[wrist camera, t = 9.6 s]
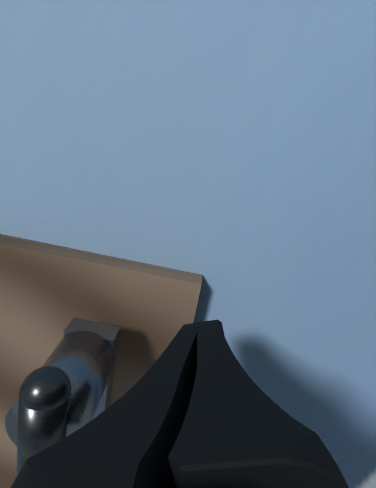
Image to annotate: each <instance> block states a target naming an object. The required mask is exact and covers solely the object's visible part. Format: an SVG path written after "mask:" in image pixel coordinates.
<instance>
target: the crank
mask: <svg viewBox="0 0 376 488" xmlns="http://www.w3.org/2000/svg"><path fill="white" fill-rule="evenodd" d="M119 334H120V327H118V326H113V325H109V324H104V323H99V322H94V321H89V320H84V319H80V318H75V317H74V318H73V319H72V320H71V322H70V323H69V324H68V326H67V327H66V328H65V330H64V335H63V339H62V340H61V341H60V342H59V344H58V345H57V346H56V348H55V349H54V351H53V352H52V353H51V355H50V356H49V357H48V359H47V360H46V361H45V363H44V364H43V365H42V367H40V368H37V369H35V370H34V371H32V372H31V373H30V374H29V375H28V376H27V377H26V378H25V379H24V381H23V382H22V385H21V387H20V390H19V397H18V399H17V400H16V402H15V403H14V404H13V406H12V407H11V408H10V410H9V411H8V413H7V415H6V418H5V427H6V431H7V434H8V436H9V438H10V439H11V441H12V442H13V443H14V444H15V445H16V446H17V475H18V474H19V472H20V470H21V469H22V467H23V465H24V464H25V462H26V460H27V459H28V458H30V457H31V456H33V455H35V454H37V453H39V452H41V451H42V450H44V449H46V448H48V447H50V446H51V445H53V444H55V443H57V442H59V441H60V440H62V439H64V438H65V437H67V436H69V435H70V434H72V433H73V432H75V431H76V430H78V429H80V428H81V427H83V426H84V425H86V424H87V423H88V422H90V421H91V420H93V419H94V418H96V417H97V416H98V415H100V414H101V413H102V412H103V411H105V410H106V409H107V408H108V407H110V400H111V393H112V385H113V378H114V371H115V364H116V356H117V349H118V341H119Z"/></svg>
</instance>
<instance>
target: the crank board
mask: <svg viewBox="0 0 376 488" xmlns="http://www.w3.org/2000/svg"><path fill="white" fill-rule="evenodd" d="M202 276H203V275H199V274H194V273H189V272H184V271H179V270H174V269H169V268H164V267H160V266H155V265H150V264H145V263H140V262H135V261H130V260H125V259H120V258H115V257H110V256H105V255H100V254H95V253H90V252H85V251H81V250H76V249H71V248H66V247H61V246H56V245H51V244H46V243H41V242H36V241H31V240H26V239H21V238H16V237H11V236H6V235H2V234H0V488H11V486H12V484H13V482H14V481H15V479H16V477H17V446H16V445H15V444H14V443H13V442H12V441H11V439H10V438H9V436H8V434H7V431H6V427H5V418H6V415H7V413H8V411H9V410H10V408H11V407H12V406H13V404H14V403H15V402H16V400H17V399H18V397H19V390H20V387H21V385H22V382H23V381H24V379H25V378H26V377H27V376H28V375H29V374H30V373H31V372H32V371H34V370H35V369H37V368H40V367H42V365H43V364H44V363H45V361H46V360H47V359H48V357H49V356H50V355H51V353H52V352H53V351H54V349H55V348H56V346H57V345H58V344H59V342H60V341H61V340H62V339H63V335H64V330H65V328H66V327H67V326H68V324H69V323H70V322H71V320H72V319H73V318H74V317H75V318H80V319H84V320H89V321H94V322H99V323H104V324H109V325H113V326H118V327H120V334H119V341H118V349H117V356H116V364H115V371H114V378H113V385H112V393H111V400H110V406H111V405H112V404H113V403H115V402H116V401H117V400H118V399H120V398H121V397H122V396H123V395H124V394H125V393H126V392H127V391H128V390H130V389H131V388H132V387H133V386H134V385H135V384H136V383H137V382H138V381H139V380H140V379H141V378H142V377H143V376H144V375H145V373H146V372H147V371H148V370H149V369H150V368H151V366H152V365H153V364H154V363H155V362H156V361H157V359H158V358H159V357H160V356H161V354H162V353H163V352H164V350H165V349H166V348H167V347H168V345H169V344H170V342H171V341H172V340H173V338H174V337H175V336H176V334H177V333H178V331H179V330H180V329H181V327H182V326H183V325H184V324H191V323H193V322H194V317H195V313H196V308H197V304H198V299H199V294H200V290H201V285H202Z"/></svg>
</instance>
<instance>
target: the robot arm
mask: <svg viewBox="0 0 376 488" xmlns="http://www.w3.org/2000/svg"><path fill="white" fill-rule="evenodd" d="M11 488H349V487H348V485H347V483H346V481H345V479H344V477H343V475H342V473H341V471H340V469H339V468H338V466H337V464H336V462H335V461H334V459H333V458H332V456H331V454H330V453H329V451H328V450H327V448H326V447H325V445H324V444H323V442H322V441H321V439H320V438H319V436H318V435H317V434H316V433H315V432H313V431H312V430H310V429H309V428H307V427H306V426H304V425H302V424H301V423H299V422H298V421H296V420H295V419H294V418H292V417H291V416H290V415H289V414H287V413H286V412H285V411H283V410H282V409H281V408H280V407H279V406H278V405H277V404H275V403H274V402H273V401H272V400H271V399H270V398H269V397H268V396H267V395H266V394H265V393H263V392H262V390H261V389H260V388H259V387H258V386H257V385H256V384H255V383H254V382H253V381H252V379H251V378H250V377H249V376H248V375H247V373H246V372H245V371H244V369H243V368H242V367H241V365H240V364H239V362H238V361H237V359H236V358H235V356H234V354H233V353H232V351H231V349H230V347H229V345H228V343H227V341H226V339H225V337H224V332H223V327H222V322H220V321H219V320H212V321H205V322H198V323H191V324H184V325H183V326H182V327H181V329H180V330H179V331H178V333H177V334H176V336H175V337H174V338H173V340H172V341H171V342H170V344H169V345H168V347H167V348H166V349H165V350H164V352H163V353H162V354H161V356H160V357H159V358H158V359H157V361H156V362H155V363H154V364H153V365H152V366H151V368H150V369H149V370H148V371H147V372H146V373H145V375H144V376H143V377H142V378H141V379H140V380H139V381H138V382H137V383H136V384H135V385H134V386H133V387H132V388H131V389H130V390H128V391H127V392H126V393H125V394H124V395H123V396H122V397H121V398H120V399H118V400H117V401H116V402H115V403H113V404H112V405H111V406H110V407H108V408H107V409H106V410H105V411H103V412H102V413H101V414H100V415H98V416H97V417H96V418H94V419H93V420H91V421H90V422H88V423H87V424H86V425H84V426H83V427H81V428H80V429H78V430H76V431H75V432H73V433H72V434H70V435H69V436H67V437H65V438H64V439H62V440H60V441H59V442H57V443H55V444H53V445H51V446H50V447H48V448H46V449H44V450H42V451H41V452H39V453H37V454H35V455H33V456H31V457H30V458H28V459H27V460H26V462H25V464H24V465H23V467H22V469H21V470H20V472H19V474H18V475H17V477H16V479H15V481H14V482H13V484H12V486H11Z"/></svg>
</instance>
